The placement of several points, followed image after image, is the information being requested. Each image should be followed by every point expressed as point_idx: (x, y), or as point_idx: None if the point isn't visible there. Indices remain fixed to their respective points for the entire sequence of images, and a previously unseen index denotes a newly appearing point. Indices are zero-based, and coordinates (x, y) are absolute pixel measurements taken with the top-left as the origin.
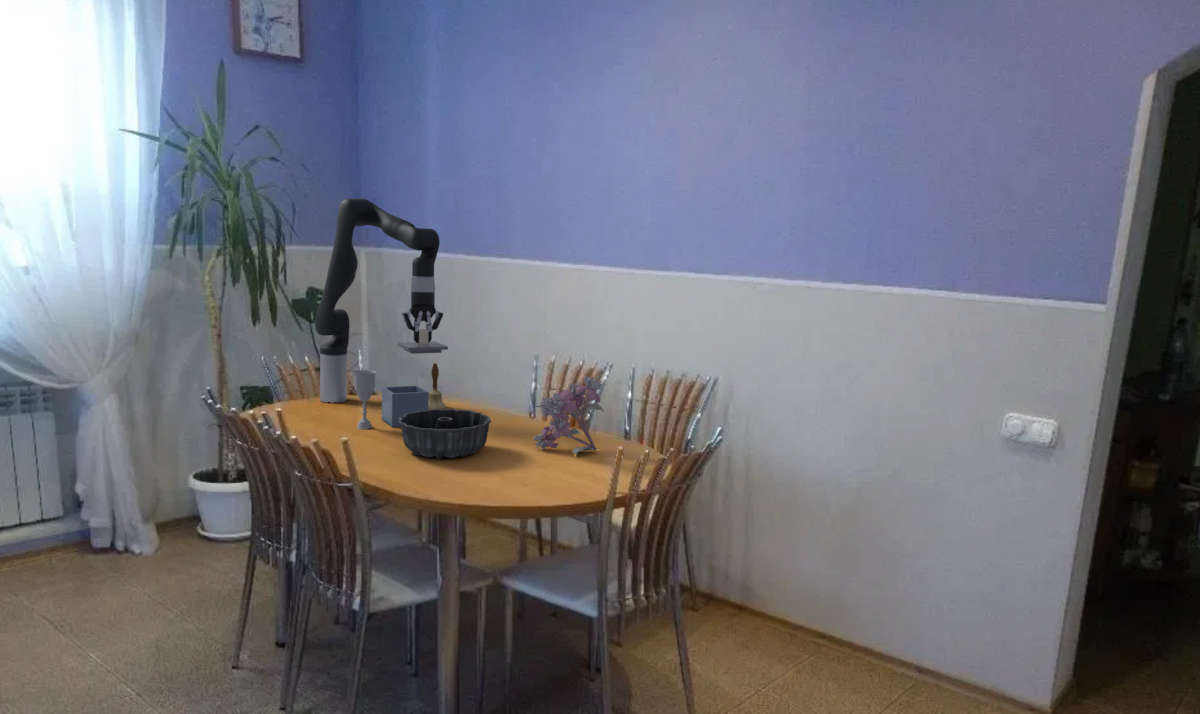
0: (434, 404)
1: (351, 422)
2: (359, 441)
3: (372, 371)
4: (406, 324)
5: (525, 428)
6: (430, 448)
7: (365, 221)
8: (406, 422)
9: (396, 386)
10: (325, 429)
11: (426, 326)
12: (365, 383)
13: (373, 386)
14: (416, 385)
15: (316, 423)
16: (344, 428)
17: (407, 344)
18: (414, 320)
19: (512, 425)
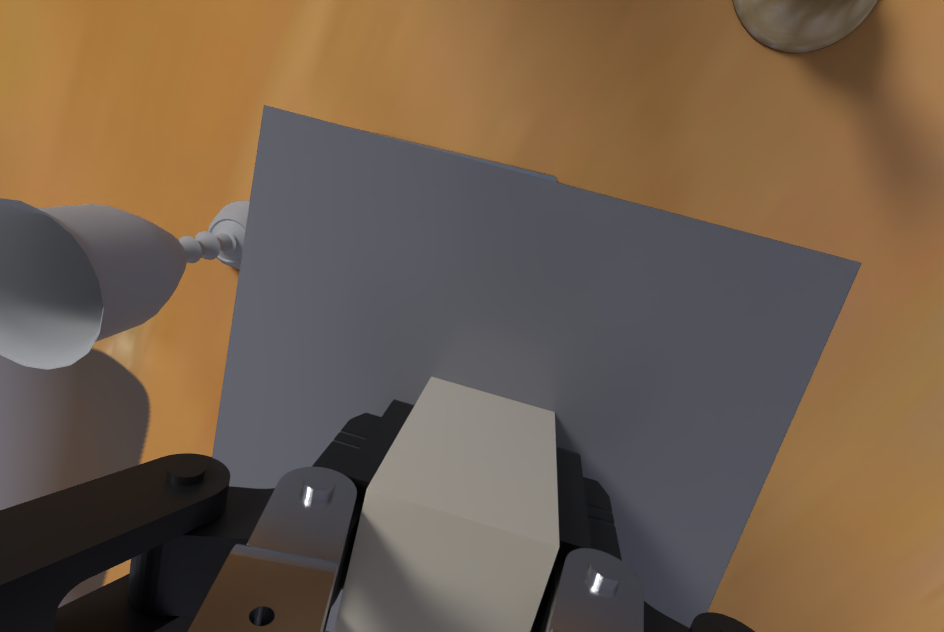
0: (780, 18)
1: (230, 111)
2: (152, 426)
3: (93, 265)
4: (55, 515)
5: (833, 624)
6: None
7: None
8: None
9: (408, 142)
10: (92, 181)
11: (548, 630)
12: (71, 328)
13: (142, 322)
14: (550, 178)
15: (85, 45)
16: (166, 207)
17: (299, 356)
18: (206, 618)
19: (830, 557)
